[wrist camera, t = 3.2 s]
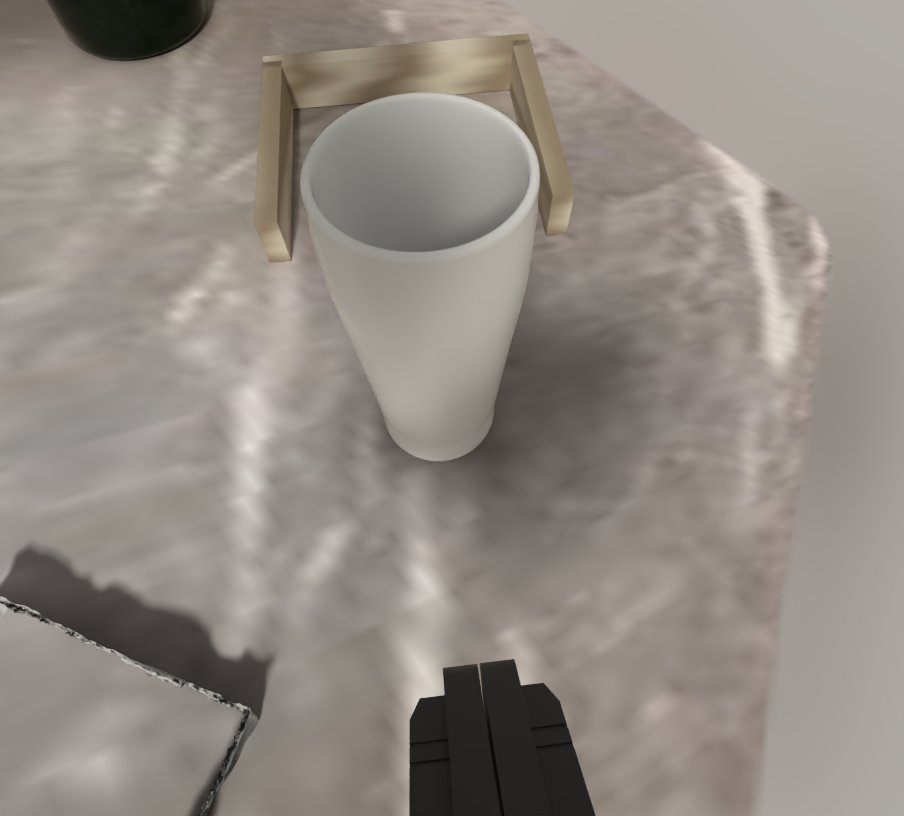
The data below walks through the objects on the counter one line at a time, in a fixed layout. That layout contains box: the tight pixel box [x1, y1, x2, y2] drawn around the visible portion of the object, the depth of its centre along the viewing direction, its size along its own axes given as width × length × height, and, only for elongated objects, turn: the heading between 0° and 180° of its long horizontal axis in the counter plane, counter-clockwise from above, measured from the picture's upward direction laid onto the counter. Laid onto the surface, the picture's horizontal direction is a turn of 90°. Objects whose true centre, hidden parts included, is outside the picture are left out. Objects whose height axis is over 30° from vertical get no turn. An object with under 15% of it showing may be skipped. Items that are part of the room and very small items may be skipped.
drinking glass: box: [300, 92, 540, 461], centre depth 23 cm, size 7×7×15 cm
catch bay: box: [254, 34, 575, 262], centre depth 37 cm, size 17×15×3 cm
